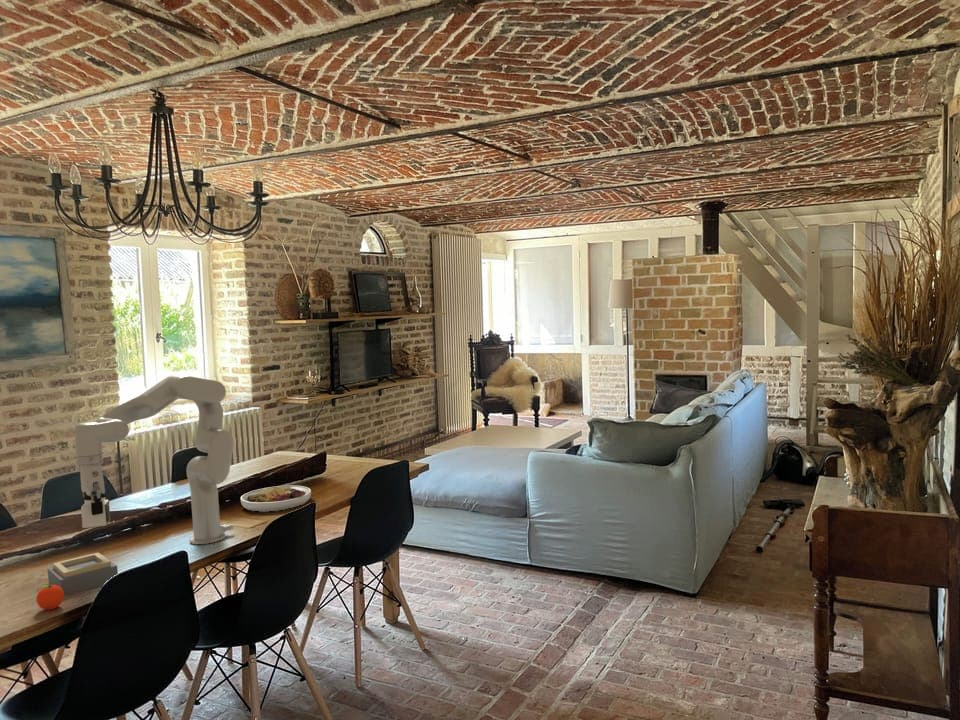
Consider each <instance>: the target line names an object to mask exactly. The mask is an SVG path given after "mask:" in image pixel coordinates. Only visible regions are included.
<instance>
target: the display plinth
mask: <svg viewBox="0 0 960 720" xmlns="http://www.w3.org/2000/svg"><path fill="white" fill-rule="evenodd" d="M46 570H47V578H48V579H47V581H48V585H57V586H59V587H61V588H62V590H63V591H64V595H65V596H68V595H71V594H70V593H72V594H75V593H74V592H76V593H79V592H82V590H83V591H86V590H89V589H94V588H97V587H100V586H101V587H102V586H104V585H103V584H104V583H105V582H106V581H107V580H109V579H110V578H111V577H113V576H114V575H116V574H118V565H117V564H116V563H114V562H113V561H112V560H110V559H109V558H108V557H106V556H104V555H103V554H101V553H100V552H95V553H91V554H85V555H82V556H78V557H75V558H70V559H66V560H65V559H64V560H61V561H58V562H54V563H52V567H51V566H50V567H47V569H46ZM118 575H119V574H118ZM78 591H79V592H78ZM67 594H68V595H67Z"/></svg>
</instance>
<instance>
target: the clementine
mask: <svg viewBox="0 0 960 720" xmlns="http://www.w3.org/2000/svg"><path fill="white" fill-rule="evenodd" d="M35 593H36V594H37V595H36V604H37V606H39V608H41V609H43V610H46V611H49V610H50V609H51V610H54V609H56V608H58V607H59V606H60V605H61V604H62V603H63V601H64V598H65V596H64V591H63V590H62V588H61V587H59V586H57V585H50V584H46V585H43V586H41V587H39V588H38V589H37V591H36V592H35Z"/></svg>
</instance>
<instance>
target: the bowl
mask: <svg viewBox="0 0 960 720" xmlns="http://www.w3.org/2000/svg"><path fill="white" fill-rule="evenodd" d="M311 494H312V490H311V488H309V487H307V486H305V485H304V486H303V485H283V484H282V485H277V486H271V487H270V486H269V487H264V488H259V489H255V490H251V491H249V492H247V493H244V494H243V495H241V496H240V503H241V505H242V507H243V508H244V509H246V510H248V511H250V510H251V512H254V511H259V512H258V513H270V512H269V511H275V512H280V511H279V510H283V511H285V510H284V509H288V508H292V509H294V508H293V507H296V506H298V507H300V506H299V505H301V506H303V505H304V504H306V503H307V502H308V501H309V500H310V498H311ZM296 508H297V507H296ZM288 510H289V509H288Z"/></svg>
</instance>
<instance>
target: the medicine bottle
mask: <svg viewBox="0 0 960 720" xmlns="http://www.w3.org/2000/svg"><path fill="white" fill-rule="evenodd" d="M94 493H96V492H94ZM101 495H102V504H103V513H102V514H97V515H92V510H91V503H92V500H91V496H88V495H87V494H86V492H85V491H84V502H85V503H84V504H82V505H81V507H80V509H81V512H80V513H81V523H82V525H81V527H82V529H86V528H87V529H88V528H96V527H104V526H107V525H108V523H109V522H110V521H111V514H110V513H111V511H110V501H109V499H106V492H105V493H104V494H102V493H101Z"/></svg>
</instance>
